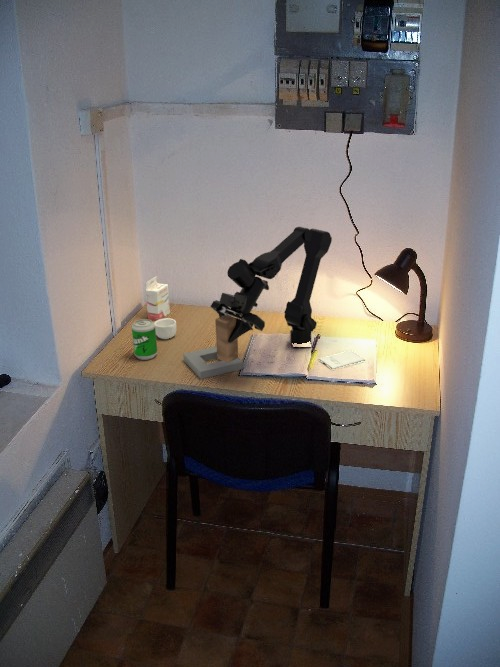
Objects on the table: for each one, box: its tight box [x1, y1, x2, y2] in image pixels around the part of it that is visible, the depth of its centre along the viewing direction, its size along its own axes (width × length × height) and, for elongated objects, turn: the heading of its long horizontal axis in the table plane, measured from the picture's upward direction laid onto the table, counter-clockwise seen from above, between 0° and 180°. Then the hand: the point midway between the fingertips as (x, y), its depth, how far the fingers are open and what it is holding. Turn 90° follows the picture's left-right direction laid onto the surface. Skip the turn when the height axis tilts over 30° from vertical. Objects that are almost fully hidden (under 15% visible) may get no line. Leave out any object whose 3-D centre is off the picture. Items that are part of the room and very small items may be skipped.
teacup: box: [153, 317, 177, 340], centre depth 230 cm, size 10×8×5 cm
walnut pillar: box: [215, 315, 239, 363], centre depth 196 cm, size 4×4×13 cm
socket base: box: [182, 345, 244, 380], centre depth 209 cm, size 14×14×2 cm
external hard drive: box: [317, 349, 366, 370], centre depth 210 cm, size 2×8×12 cm
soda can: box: [131, 318, 158, 361], centre depth 214 cm, size 8×8×12 cm
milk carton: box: [145, 275, 171, 321], centre depth 245 cm, size 9×5×15 cm, turn 157°
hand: (223, 339), depth 195 cm, fingers closed on walnut pillar, 4 cm apart
